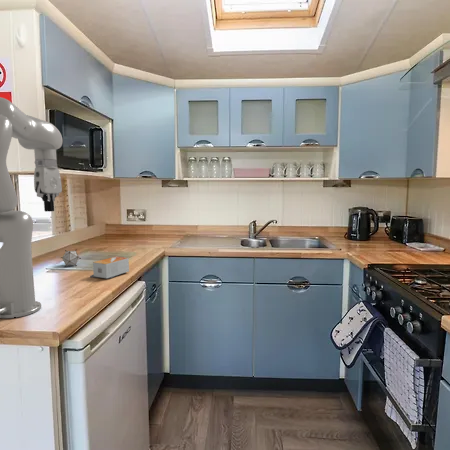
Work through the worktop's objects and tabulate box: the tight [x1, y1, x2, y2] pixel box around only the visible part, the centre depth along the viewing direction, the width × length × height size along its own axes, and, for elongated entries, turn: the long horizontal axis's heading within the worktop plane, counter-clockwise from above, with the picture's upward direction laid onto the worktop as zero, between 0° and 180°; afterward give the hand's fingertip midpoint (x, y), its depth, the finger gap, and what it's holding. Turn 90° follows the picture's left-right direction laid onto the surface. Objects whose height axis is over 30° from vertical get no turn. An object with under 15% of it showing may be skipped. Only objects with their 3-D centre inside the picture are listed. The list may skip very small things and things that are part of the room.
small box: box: [92, 256, 130, 279], centre depth 146 cm, size 8×6×13 cm
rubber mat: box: [89, 273, 118, 279], centre depth 147 cm, size 11×10×1 cm
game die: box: [60, 249, 82, 268], centre depth 164 cm, size 9×8×10 cm
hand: (49, 211), depth 133 cm, fingers closed
